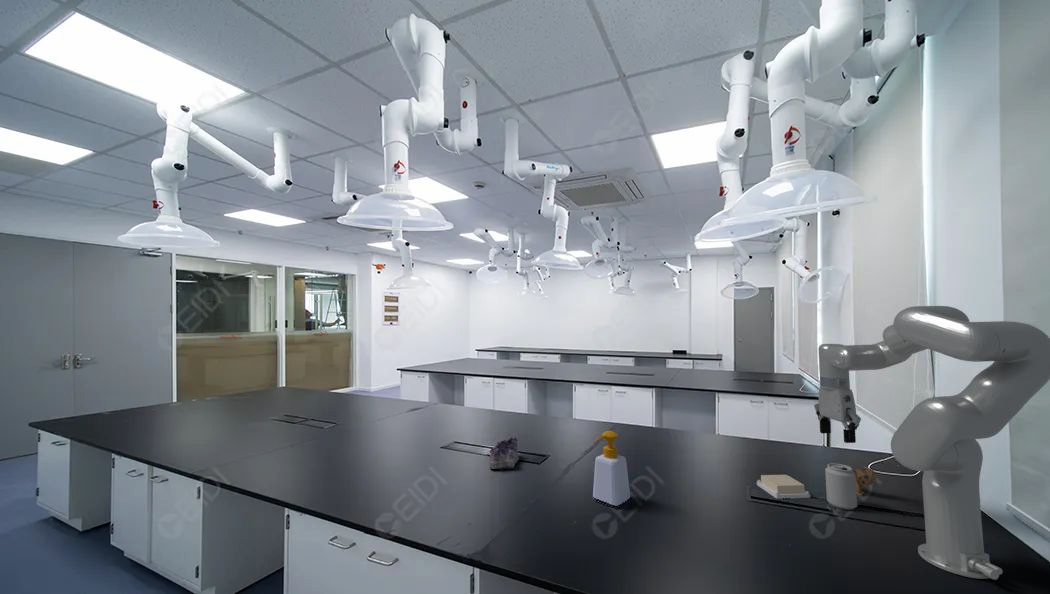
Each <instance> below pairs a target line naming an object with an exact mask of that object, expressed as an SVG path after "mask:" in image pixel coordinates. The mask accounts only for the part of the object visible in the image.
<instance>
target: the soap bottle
mask: <svg viewBox="0 0 1050 594" xmlns="http://www.w3.org/2000/svg"><path fill="white" fill-rule="evenodd" d="M618 437H619V434H618V433H616V431H615V432H614V431H612V430H607V431H604V432H602V433H601V436H600V437H599V438H597V439H595V440H594V441H593V444H596V443H597V442H598V441H600V440H601V439H603V440H604V441H605V442H607V445H604V446H603V454H600V455H598V456H596V457H595V460H594V461H595V462H594V475H593V476H594V477H593V490H592V498H593V497H594V498H596V499H599V500H601V501H604V502H607V503H609V504H612V505H615V506H618V505H620V504H621V505H622V503H623V502H624V503H626V502H628V501H629V500H630V499H629V498H631V490H630V482H629V474H628V473H629V472H628V467H627V465H628V464H627V461H626V460H627V459H626V457H625V456H623V455H619V454H618V447H617V446H614V444H613V442H616V441H617V438H618ZM594 498H593V499H594ZM628 499H629V500H628ZM627 500H628V501H627ZM625 501H626V502H625ZM624 503H623V504H624ZM621 505H620V506H621ZM618 507H619V506H618Z"/></svg>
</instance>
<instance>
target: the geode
mask: <svg viewBox="0 0 1050 594" xmlns="http://www.w3.org/2000/svg"><path fill="white" fill-rule="evenodd" d="M518 441H519V440H518V438H516V437H514V438H513V437H510V438H508V439H507V440H505V439H504V440H501V441H500V442H499V441H497V444H496V446H494V447H493V448H492V447H491V448H490V450H489V453H490V454H489V459H488V468H489V467H490V468H489V469H491V468H492V469H499V468H504V469H503V470H509V469H510V470H511V469H515V467H516V463H517V464H518V463H519V462H518V460H519V461H520V458H519V451H518ZM505 468H506V469H505Z"/></svg>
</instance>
